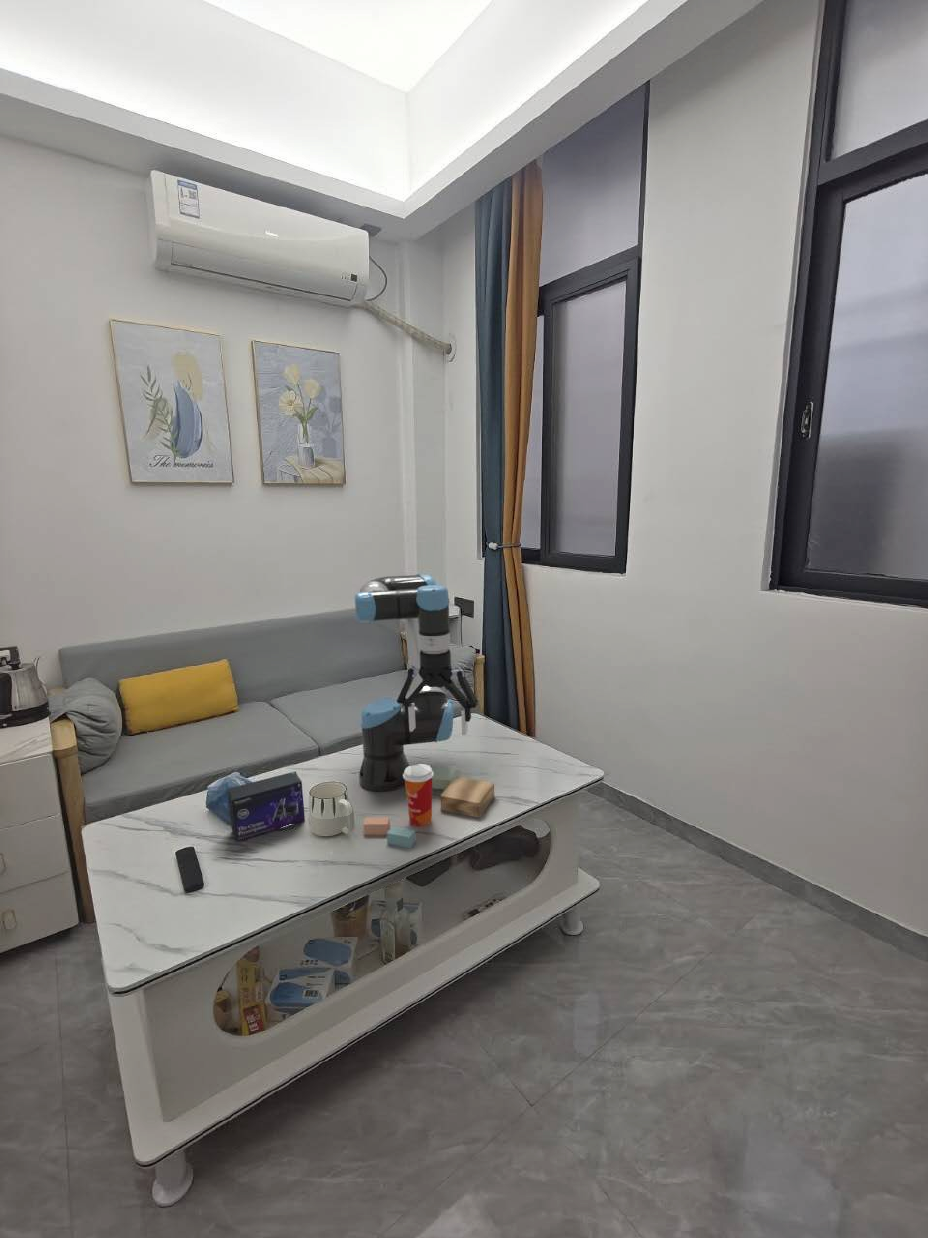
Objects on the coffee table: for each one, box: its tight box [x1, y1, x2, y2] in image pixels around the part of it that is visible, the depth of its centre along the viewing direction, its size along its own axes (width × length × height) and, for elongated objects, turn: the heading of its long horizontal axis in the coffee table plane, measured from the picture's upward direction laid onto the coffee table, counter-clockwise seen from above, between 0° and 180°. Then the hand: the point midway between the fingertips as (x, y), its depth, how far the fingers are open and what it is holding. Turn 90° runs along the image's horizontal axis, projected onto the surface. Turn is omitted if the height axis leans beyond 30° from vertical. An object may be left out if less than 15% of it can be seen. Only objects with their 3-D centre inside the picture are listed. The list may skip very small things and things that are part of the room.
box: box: [226, 770, 306, 843], centre depth 145 cm, size 17×7×12 cm, turn 121°
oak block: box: [439, 776, 495, 818], centre depth 154 cm, size 11×11×4 cm
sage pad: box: [429, 764, 458, 790], centre depth 166 cm, size 8×8×3 cm
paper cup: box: [403, 763, 434, 827], centre depth 146 cm, size 8×8×14 cm
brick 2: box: [386, 826, 416, 849], centre depth 138 cm, size 6×3×3 cm, turn 70°
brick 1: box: [362, 817, 391, 836], centre depth 143 cm, size 6×3×3 cm, turn 87°
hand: (438, 731), depth 144 cm, fingers open, 13 cm apart
